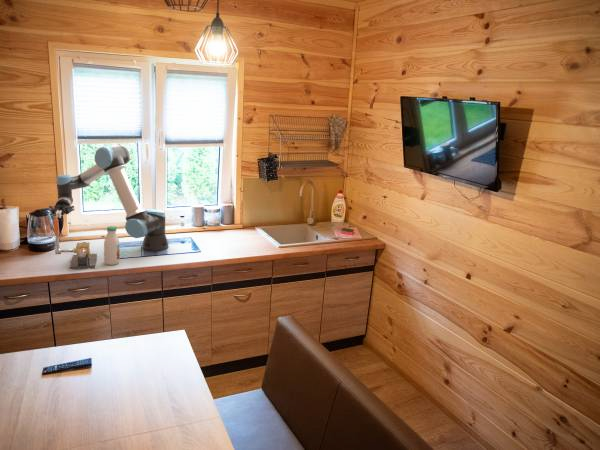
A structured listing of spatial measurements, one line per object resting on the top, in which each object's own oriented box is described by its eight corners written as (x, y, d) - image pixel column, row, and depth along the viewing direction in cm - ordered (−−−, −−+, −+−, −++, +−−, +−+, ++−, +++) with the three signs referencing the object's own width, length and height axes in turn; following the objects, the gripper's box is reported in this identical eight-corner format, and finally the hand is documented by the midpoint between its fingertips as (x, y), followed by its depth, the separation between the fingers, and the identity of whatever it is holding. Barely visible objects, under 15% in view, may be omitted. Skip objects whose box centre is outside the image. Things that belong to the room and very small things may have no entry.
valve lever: (73, 252, 247) (71, 219, 242) (72, 254, 244) (70, 220, 239) (56, 253, 244) (53, 219, 239) (55, 255, 241) (52, 221, 236)
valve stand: (97, 256, 259) (96, 238, 256) (95, 268, 242) (94, 249, 239) (73, 257, 255) (72, 239, 252) (69, 269, 238) (68, 250, 235)
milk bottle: (113, 266, 246) (113, 229, 241) (101, 263, 248) (100, 227, 243) (122, 261, 254) (122, 226, 249) (110, 259, 255) (110, 224, 250)
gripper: (76, 211, 271) (72, 221, 250) (50, 211, 266) (44, 222, 245) (76, 198, 269) (71, 208, 248) (49, 198, 264) (43, 208, 243)
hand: (58, 215), depth 246 cm, fingers closed
